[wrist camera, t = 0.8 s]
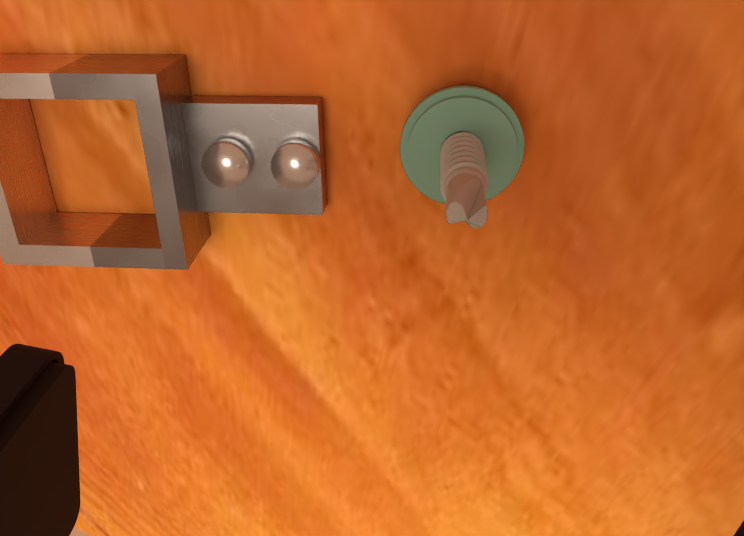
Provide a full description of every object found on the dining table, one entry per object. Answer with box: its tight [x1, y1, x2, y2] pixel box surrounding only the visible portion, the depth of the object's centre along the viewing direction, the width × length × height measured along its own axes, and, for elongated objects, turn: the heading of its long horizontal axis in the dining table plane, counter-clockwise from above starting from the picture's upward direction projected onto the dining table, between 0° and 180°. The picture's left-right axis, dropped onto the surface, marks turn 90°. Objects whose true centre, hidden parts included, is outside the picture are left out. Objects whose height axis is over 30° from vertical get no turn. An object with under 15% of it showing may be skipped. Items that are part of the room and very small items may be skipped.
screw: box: [400, 85, 524, 228], centre depth 26 cm, size 9×5×5 cm
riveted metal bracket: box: [0, 54, 327, 270], centre depth 30 cm, size 20×8×4 cm, turn 91°
